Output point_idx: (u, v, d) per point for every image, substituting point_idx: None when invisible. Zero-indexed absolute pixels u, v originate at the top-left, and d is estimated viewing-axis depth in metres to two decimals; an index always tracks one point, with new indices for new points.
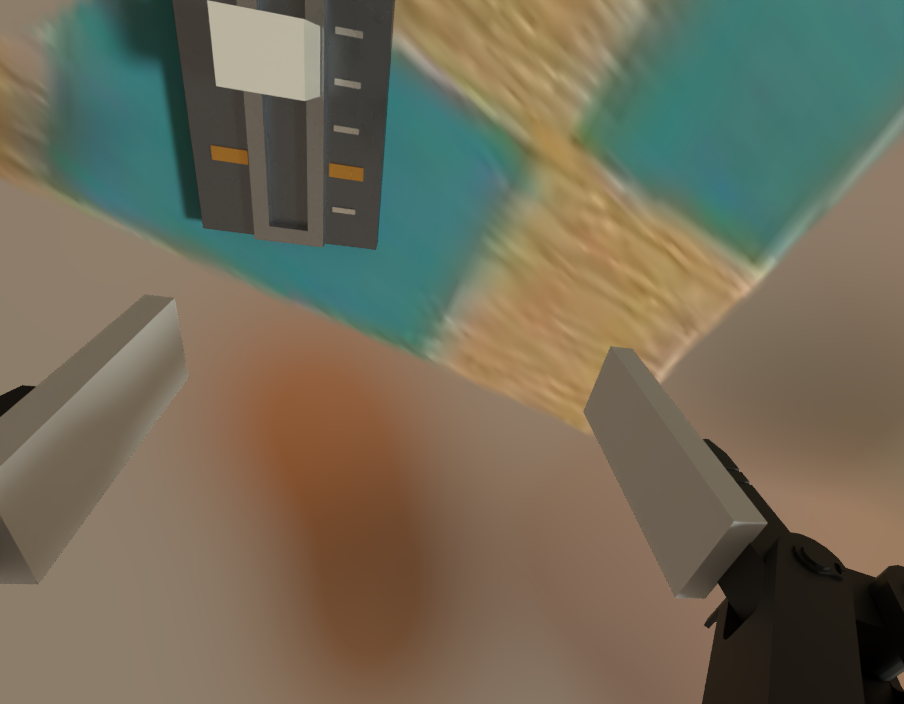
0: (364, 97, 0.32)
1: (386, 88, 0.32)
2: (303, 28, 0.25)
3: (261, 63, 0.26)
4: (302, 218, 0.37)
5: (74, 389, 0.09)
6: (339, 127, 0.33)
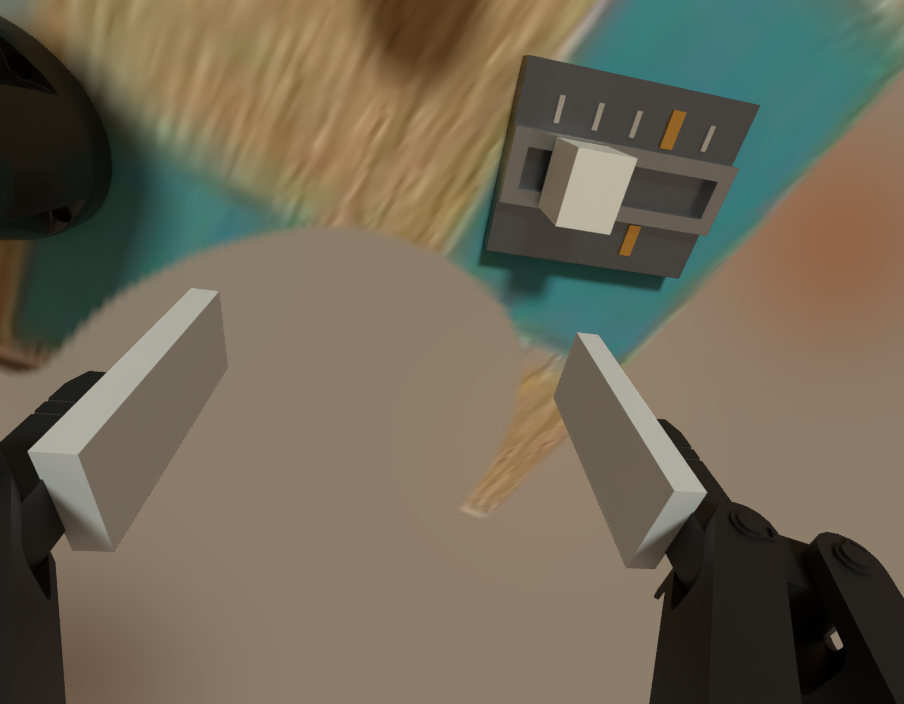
0: (611, 99, 0.32)
1: (608, 73, 0.32)
2: (584, 149, 0.28)
3: (602, 192, 0.30)
4: (699, 185, 0.36)
5: (142, 373, 0.09)
6: (630, 131, 0.34)
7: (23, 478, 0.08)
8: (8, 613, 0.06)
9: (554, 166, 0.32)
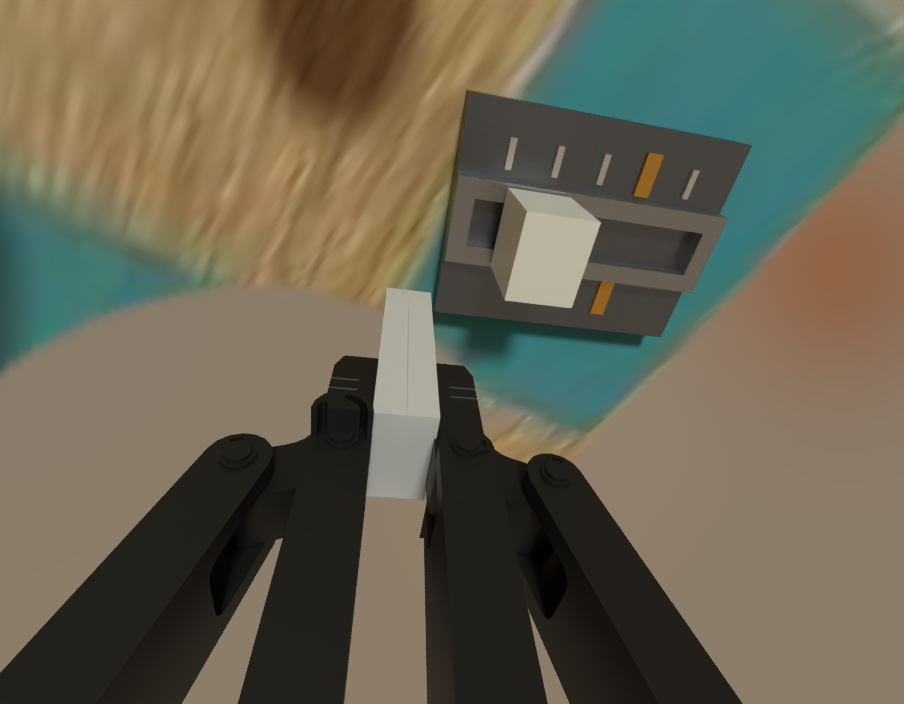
0: (573, 142, 0.27)
1: (568, 111, 0.26)
2: (534, 212, 0.23)
3: (559, 262, 0.24)
4: (682, 236, 0.31)
5: (404, 356, 0.12)
6: (598, 177, 0.28)
7: None
8: (356, 555, 0.07)
9: (505, 223, 0.27)
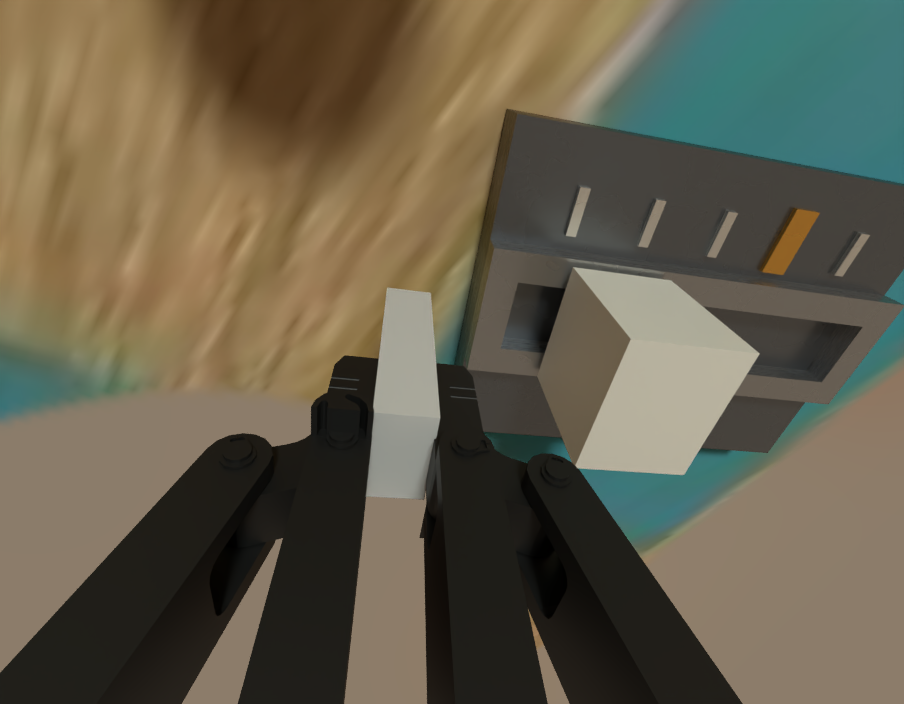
0: (679, 193, 0.17)
1: (676, 145, 0.16)
2: (644, 340, 0.12)
3: (675, 413, 0.14)
4: (822, 326, 0.20)
5: (404, 356, 0.12)
6: (710, 245, 0.18)
7: None
8: (356, 555, 0.07)
9: (569, 327, 0.16)
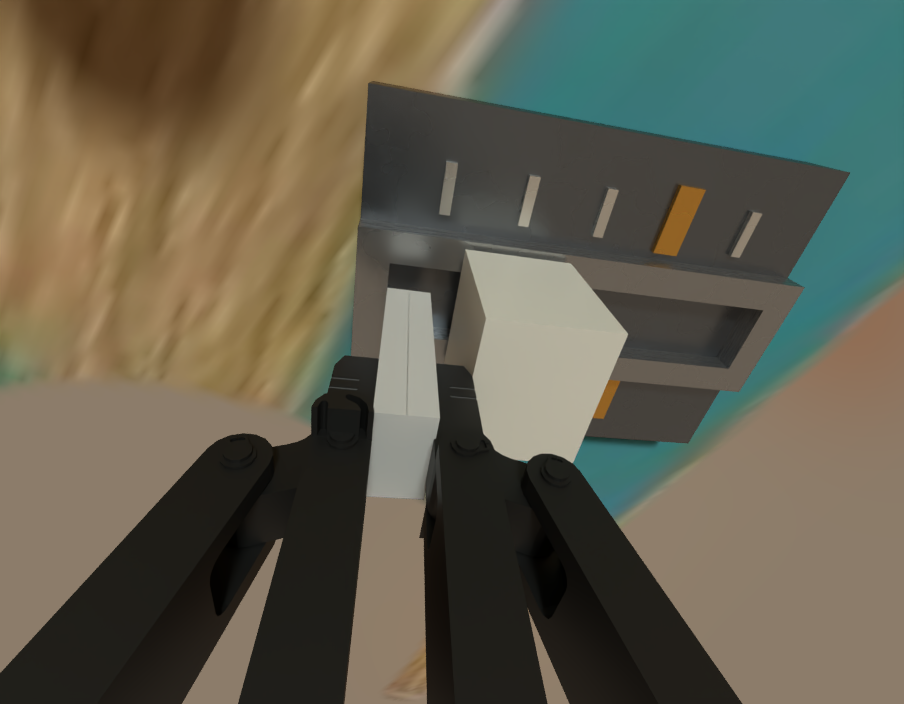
0: (554, 168, 0.16)
1: (544, 118, 0.15)
2: (501, 320, 0.12)
3: (550, 398, 0.13)
4: (727, 310, 0.20)
5: (404, 356, 0.12)
6: (596, 225, 0.17)
7: None
8: (356, 555, 0.07)
9: (460, 311, 0.16)
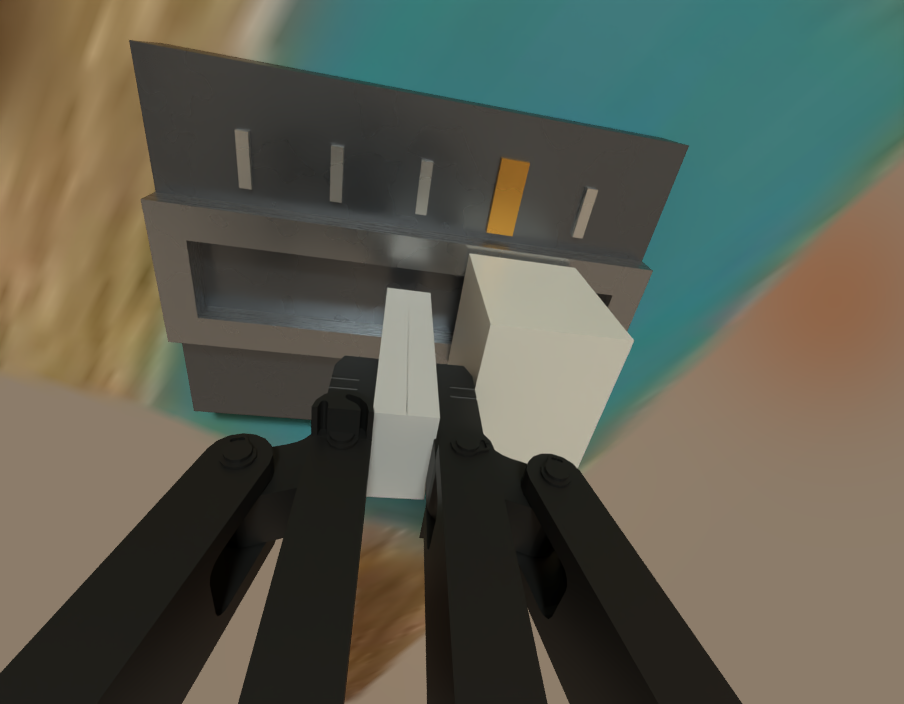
0: (359, 138, 0.15)
1: (336, 81, 0.14)
2: (506, 326, 0.12)
3: (554, 404, 0.13)
4: None
5: (405, 356, 0.12)
6: (418, 201, 0.16)
7: None
8: (356, 555, 0.07)
9: (464, 316, 0.16)
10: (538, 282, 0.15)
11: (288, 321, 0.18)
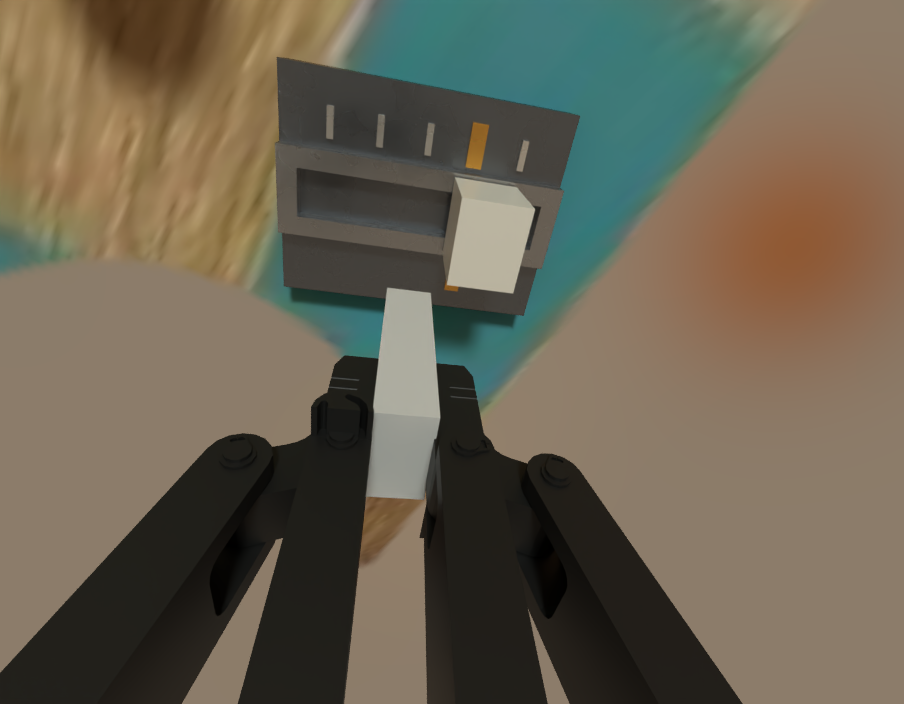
0: (393, 110, 0.27)
1: (382, 78, 0.26)
2: (470, 199, 0.24)
3: (497, 248, 0.25)
4: None
5: (404, 356, 0.12)
6: (426, 148, 0.28)
7: None
8: (356, 555, 0.07)
9: (451, 212, 0.28)
10: (492, 189, 0.27)
11: (348, 222, 0.30)
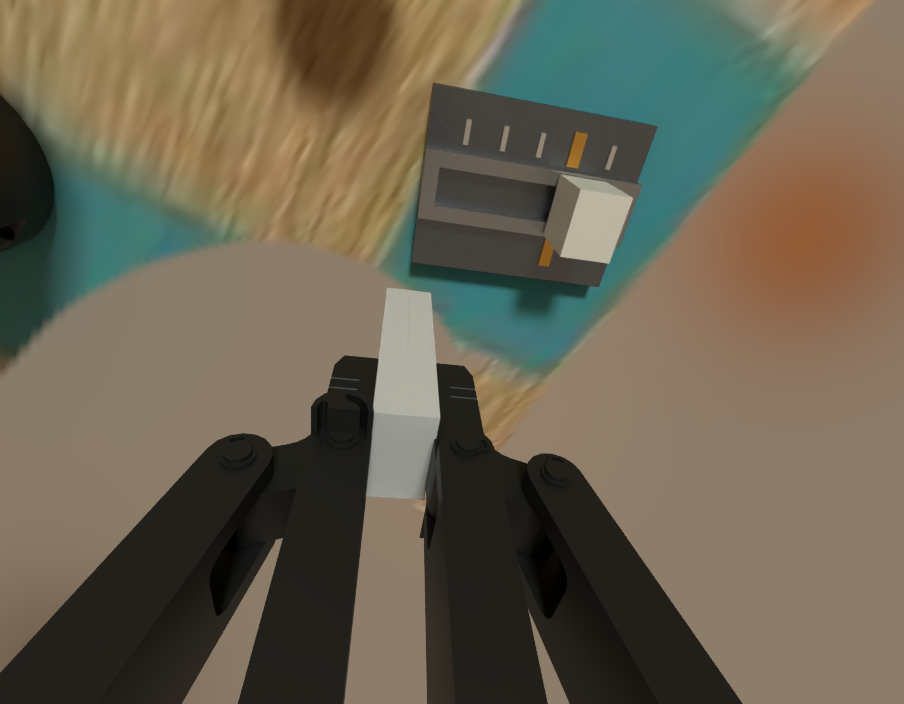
0: (516, 123, 0.35)
1: (510, 99, 0.34)
2: (586, 190, 0.32)
3: (601, 227, 0.33)
4: None
5: (404, 356, 0.12)
6: (537, 151, 0.36)
7: None
8: (356, 555, 0.07)
9: (558, 201, 0.36)
10: (593, 183, 0.35)
11: (471, 210, 0.38)
